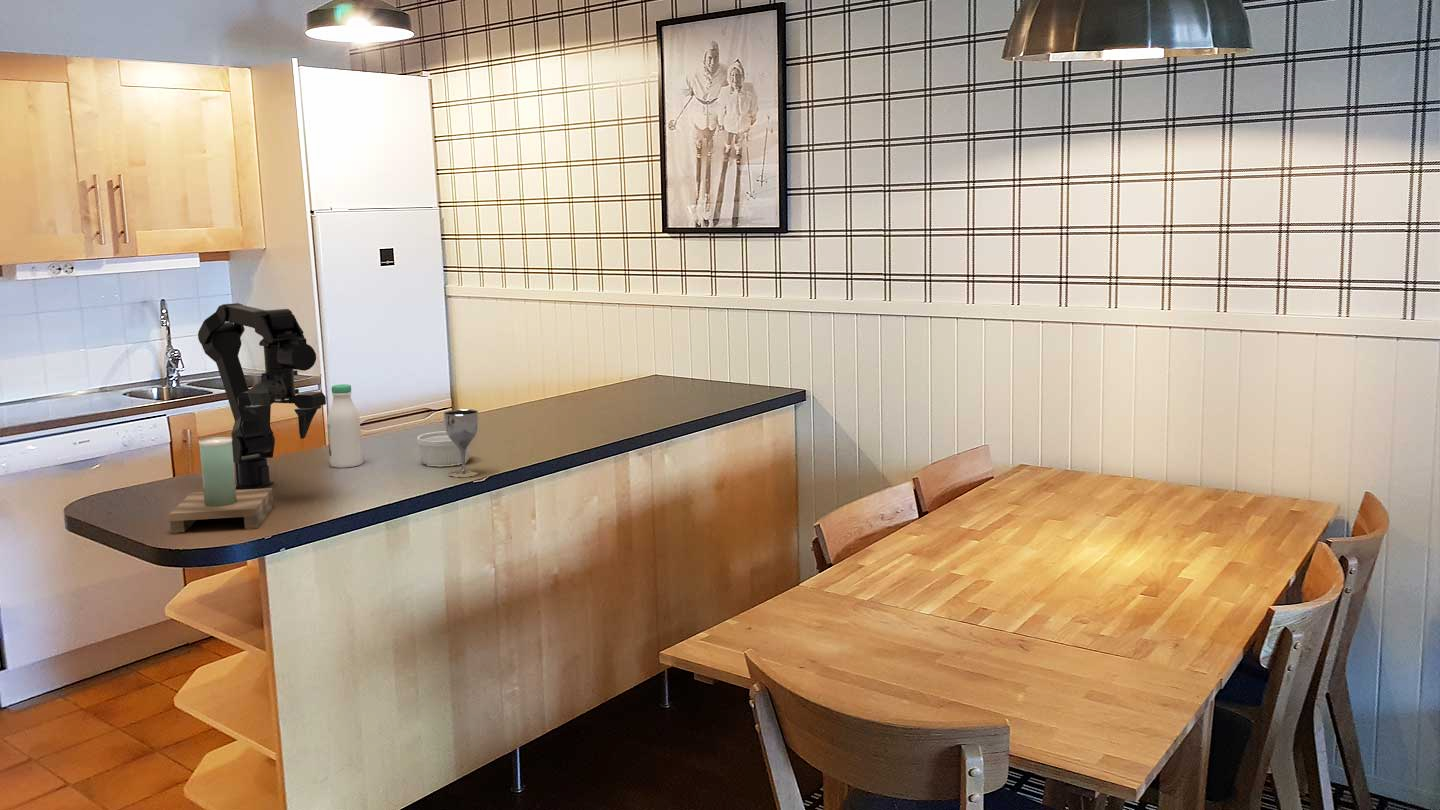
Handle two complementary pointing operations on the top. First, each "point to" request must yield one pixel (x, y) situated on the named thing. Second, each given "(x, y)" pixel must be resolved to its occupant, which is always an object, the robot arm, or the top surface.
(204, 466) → the tumbler
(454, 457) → the ramekin
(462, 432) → the wine glass
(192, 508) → the wooden pallet
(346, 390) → the milk bottle
